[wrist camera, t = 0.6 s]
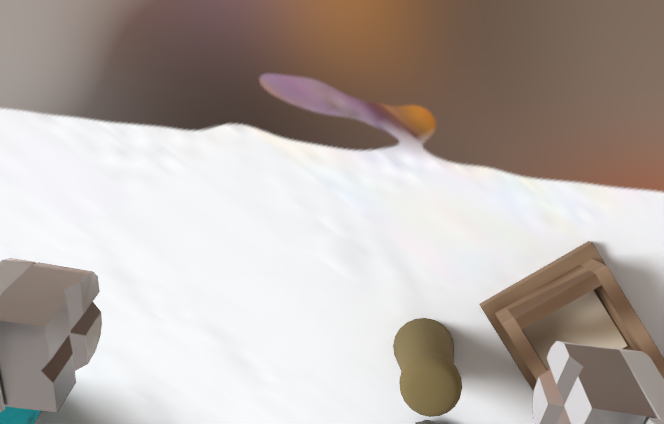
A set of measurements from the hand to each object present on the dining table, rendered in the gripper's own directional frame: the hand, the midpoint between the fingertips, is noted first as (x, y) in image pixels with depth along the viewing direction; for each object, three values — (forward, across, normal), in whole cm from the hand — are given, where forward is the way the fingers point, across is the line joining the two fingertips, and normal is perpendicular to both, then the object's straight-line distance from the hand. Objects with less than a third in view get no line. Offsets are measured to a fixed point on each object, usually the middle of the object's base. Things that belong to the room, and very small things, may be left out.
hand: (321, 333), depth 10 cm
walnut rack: (+36, +27, -30) cm, 54 cm away
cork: (+37, +11, -32) cm, 50 cm away
